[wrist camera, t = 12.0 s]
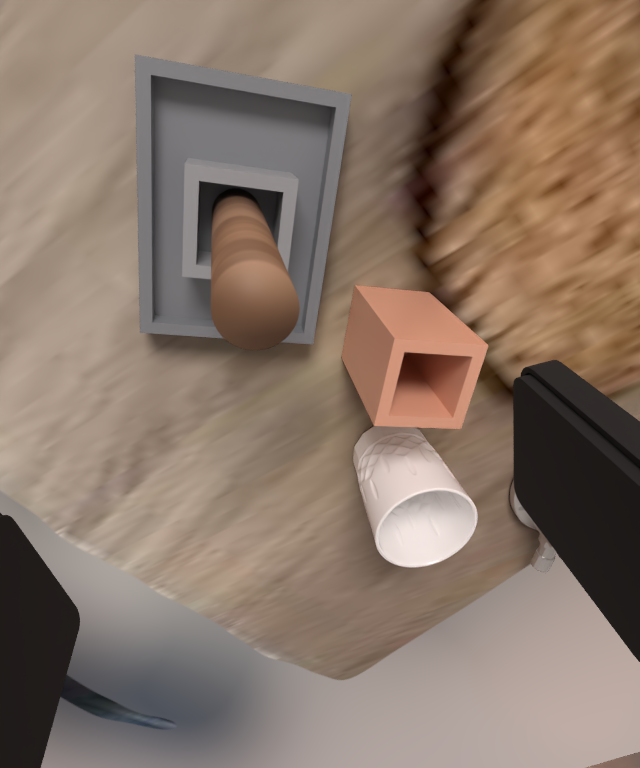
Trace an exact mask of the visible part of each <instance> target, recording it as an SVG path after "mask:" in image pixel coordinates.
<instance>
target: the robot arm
mask: <svg viewBox="0 0 640 768" xmlns="http://www.w3.org/2000/svg"><path fill="white" fill-rule="evenodd" d="M513 409H514V479H513V482H512V486H511V489H510V502H511V507H512V509H513V511H514V513H515V514H516V515H517V517H518V518H519V519H520V521H521V522H522V523H524V524H525V525H526V526H528V527H530V528H532V529H534V530H538V531H539V532H540V535H539V538H538V540H539V542H540V545H539V547H538V548H537V549H536V551H535V553H534V555H533V557H532V559H531V564H532V566H533V567H534V568H535V569H537V570H538V571H540V572H548V571H549V569H550V567H551V565H552V563H553V561H554V559H555V555H556V553H557V554H558V555H559V557H560V558H561V559H562V560H563V562H564V563H565V564H566V566H567V567H568V568H569V569H570V571H571V572H572V573H573V575H574V576H575V577H576V579H577V580H578V581H579V583H580V584H581V585H582V587H583V588H584V589H585V591H586V592H587V593H588V595H589V596H590V597H591V599H592V600H593V601H594V603H595V604H596V605H597V607H598V608H599V609H600V611H601V612H602V613H603V615H604V616H605V617H606V619H607V620H608V621H609V623H610V624H611V625H612V627H613V628H614V629H615V631H616V632H617V633H618V635H619V636H620V637H621V639H622V640H623V641H624V643H625V644H626V645H627V647H628V648H629V649H630V651H631V652H632V653H633V655H634V656H635V657H636V658H637V659H638V661H639V662H640V421H638V420H637V419H636V418H634V417H633V416H632V415H630V414H629V413H628V412H626V411H625V410H624V409H622V408H621V407H620V406H618V405H617V404H616V403H614V402H613V401H612V400H610V399H609V398H608V397H606V396H605V395H604V394H602V393H601V392H600V391H598V390H597V389H596V388H594V387H593V386H592V385H590V384H589V383H588V382H586V381H585V380H584V379H582V378H581V377H580V376H578V375H577V374H576V373H574V372H573V371H572V370H570V369H569V368H568V367H566V366H565V365H564V364H562V363H561V362H559V361H557V360H551V361H547V362H544V363H540V364H536V365H533V366H529V367H525V368H524V369H523V370H522V372H521V377H518V378H516V379H515V380H514V385H513ZM79 626H80V617H79V612H78V609H77V607H76V606H75V604H74V603H73V602H72V600H71V599H70V597H69V596H68V595H67V593H66V592H65V590H64V589H63V588H62V586H61V585H60V583H59V582H58V581H57V579H56V578H55V577H54V575H53V574H52V572H51V571H50V569H49V568H48V567H47V565H46V564H45V562H44V561H43V560H42V558H41V557H40V555H39V554H38V553H37V551H36V550H35V549H34V547H33V546H32V544H31V543H30V542H29V540H28V539H27V537H26V536H25V535H24V533H23V532H22V530H21V529H20V528H19V526H18V525H17V523H16V522H15V521H14V520H13V518H12V517H10V516H8V515H2V514H1V513H0V768H41V764H42V760H43V757H44V753H45V750H46V746H47V742H48V739H49V735H50V731H51V728H52V724H53V721H54V717H55V714H56V710H57V706H58V703H59V699H60V696H61V692H62V688H63V685H64V681H65V678H66V674H67V670H68V667H69V663H70V660H71V656H72V652H73V649H74V645H75V641H76V638H77V634H78V631H79ZM587 768H640V752H638V753H634V754H631V755H627V756H624V757H620V758H617V759H614V760H611V761H607V762H604V763H600V764H597V765H594V766H590V767H587Z"/></svg>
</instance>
